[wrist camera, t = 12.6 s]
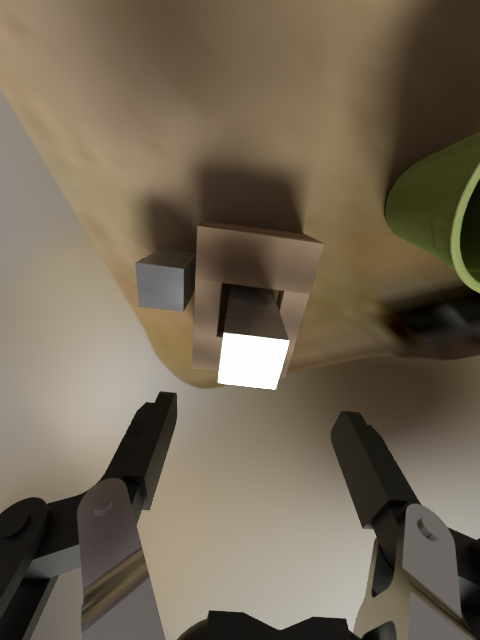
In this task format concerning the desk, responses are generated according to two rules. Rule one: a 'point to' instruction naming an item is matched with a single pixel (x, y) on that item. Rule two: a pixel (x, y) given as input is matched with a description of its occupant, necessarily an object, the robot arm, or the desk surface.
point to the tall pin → (252, 339)
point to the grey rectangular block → (166, 279)
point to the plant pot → (442, 207)
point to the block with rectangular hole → (249, 279)
